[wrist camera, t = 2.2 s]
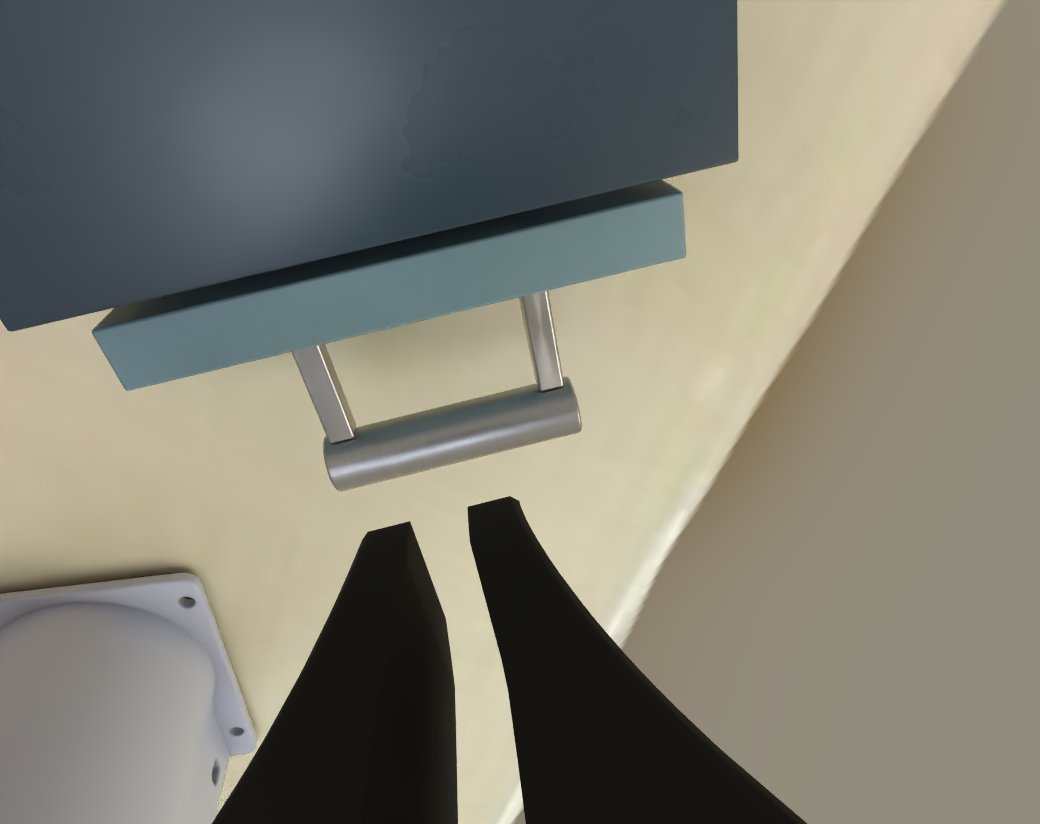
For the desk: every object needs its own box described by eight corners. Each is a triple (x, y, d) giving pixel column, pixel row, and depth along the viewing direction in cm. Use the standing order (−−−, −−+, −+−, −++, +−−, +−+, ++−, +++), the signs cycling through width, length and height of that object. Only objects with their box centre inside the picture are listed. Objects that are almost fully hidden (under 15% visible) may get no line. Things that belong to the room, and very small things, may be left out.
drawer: (622, 352, 19) (697, 463, 14) (278, 436, 19) (236, 580, 14) (521, -519, 11) (625, -972, 6) (-112, -399, 10) (-567, -776, 5)
